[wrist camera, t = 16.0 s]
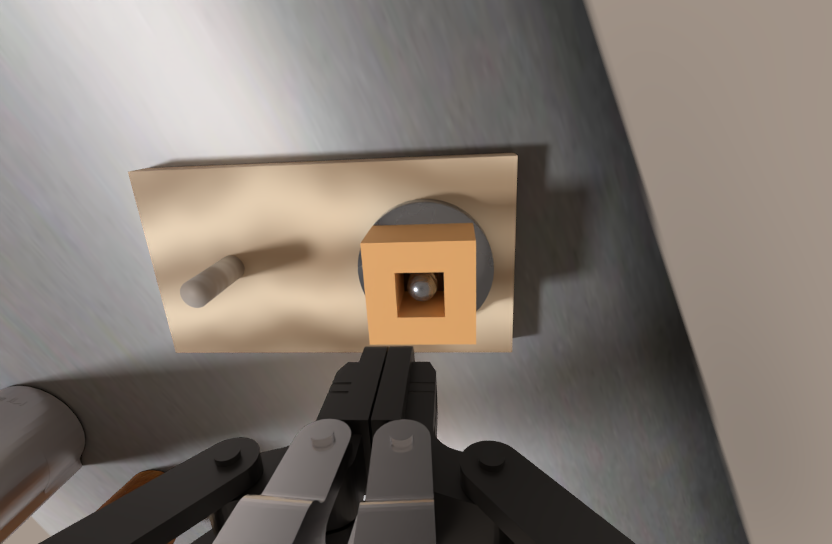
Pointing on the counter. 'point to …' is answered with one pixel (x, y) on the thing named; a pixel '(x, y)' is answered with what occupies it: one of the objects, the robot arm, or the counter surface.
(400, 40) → the counter surface
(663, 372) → the counter surface
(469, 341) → the collar
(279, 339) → the stand board
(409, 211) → the hub
